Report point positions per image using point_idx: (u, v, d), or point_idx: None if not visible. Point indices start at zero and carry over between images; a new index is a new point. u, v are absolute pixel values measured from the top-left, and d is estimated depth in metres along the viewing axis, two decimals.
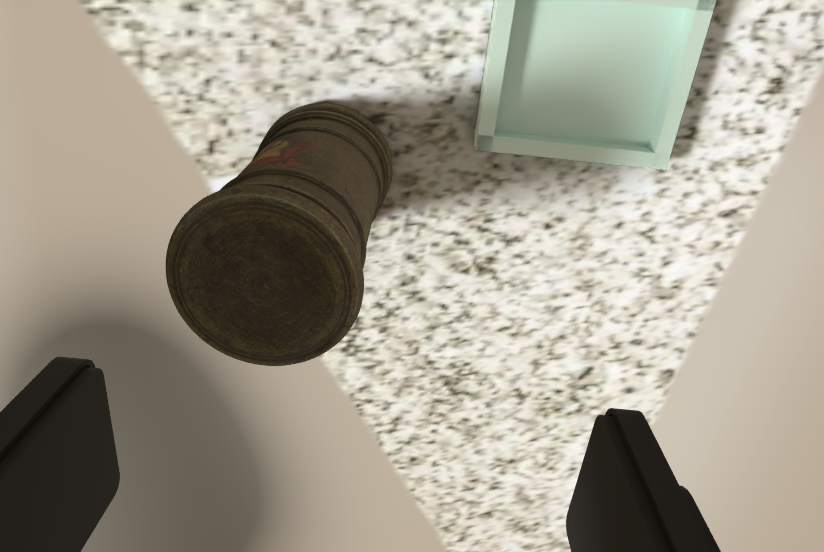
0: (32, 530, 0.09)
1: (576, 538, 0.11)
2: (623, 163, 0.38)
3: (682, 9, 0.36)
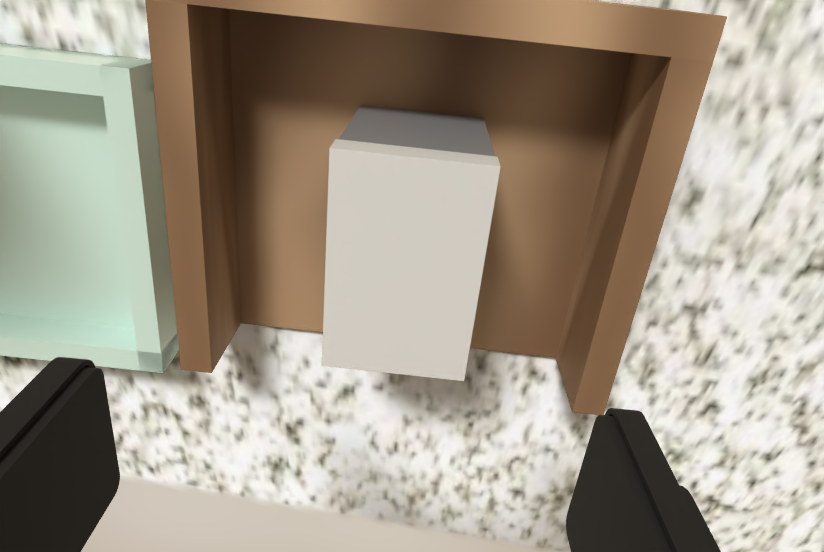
0: (32, 529, 0.09)
1: (576, 538, 0.11)
2: None
3: None
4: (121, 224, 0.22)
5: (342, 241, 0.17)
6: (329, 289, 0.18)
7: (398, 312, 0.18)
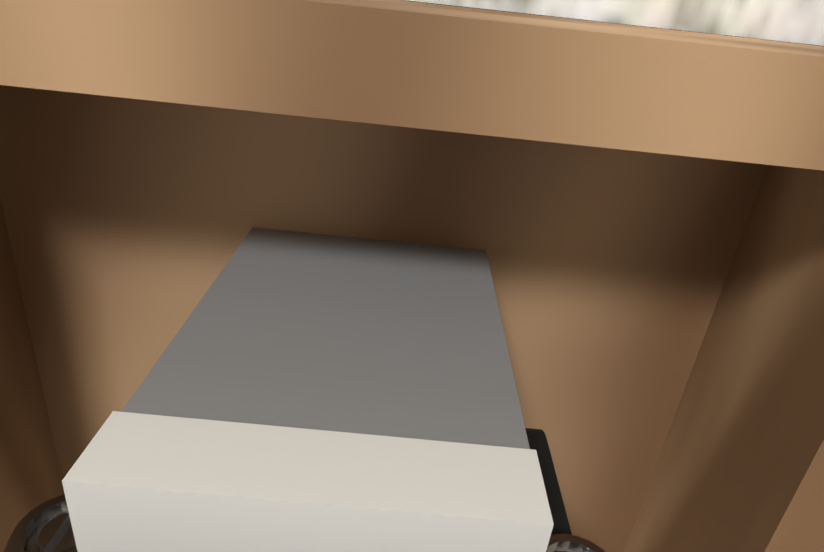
0: None
1: None
2: None
3: None
4: None
5: None
6: None
7: None
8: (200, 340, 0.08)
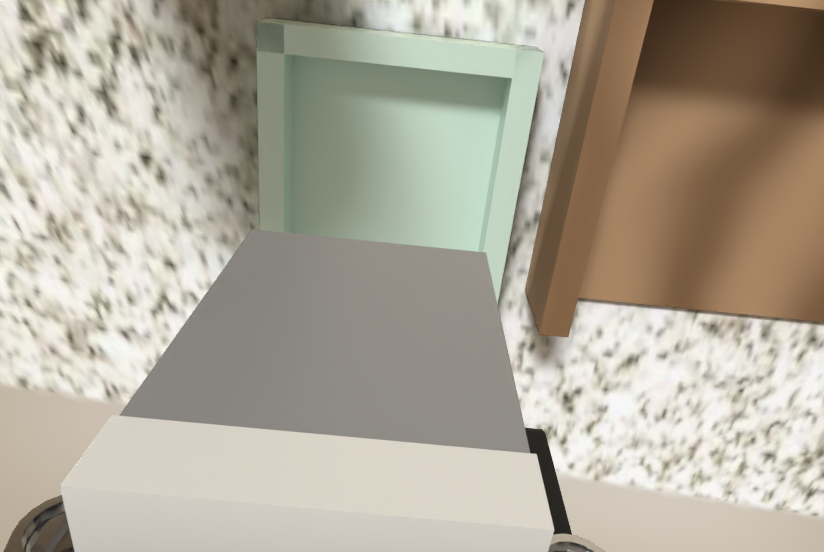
0: None
1: None
2: None
3: None
4: (492, 199, 0.24)
5: None
6: None
7: None
8: (199, 343, 0.08)
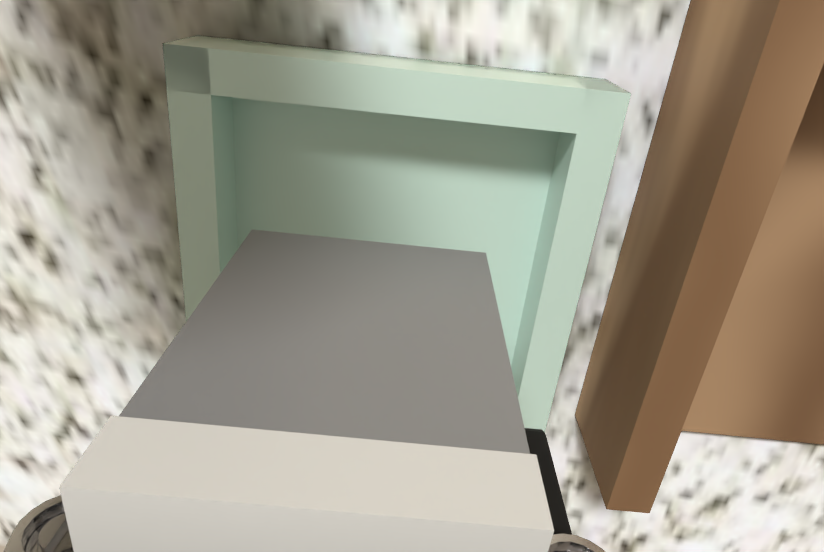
0: None
1: None
2: None
3: None
4: (538, 310, 0.16)
5: None
6: None
7: None
8: (199, 343, 0.08)
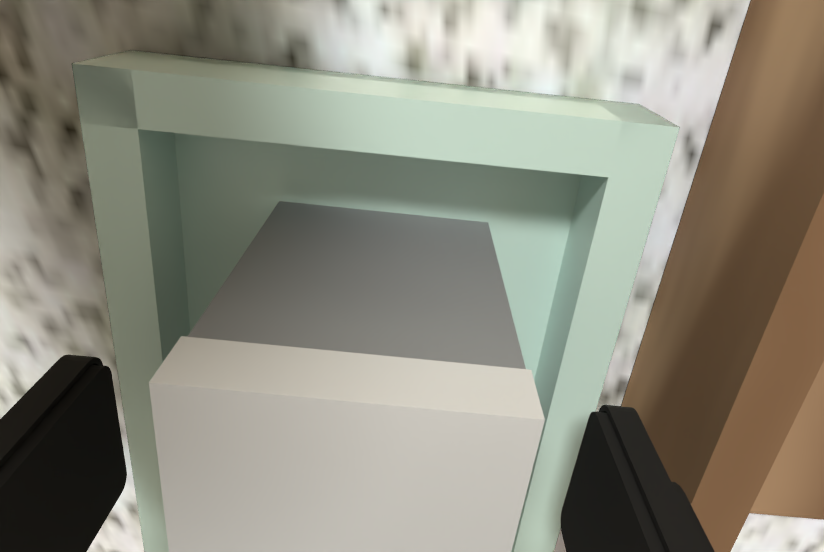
0: (42, 526, 0.09)
1: (570, 534, 0.11)
2: (139, 483, 0.14)
3: None
4: (556, 387, 0.13)
5: (202, 547, 0.08)
6: None
7: None
8: (245, 287, 0.09)
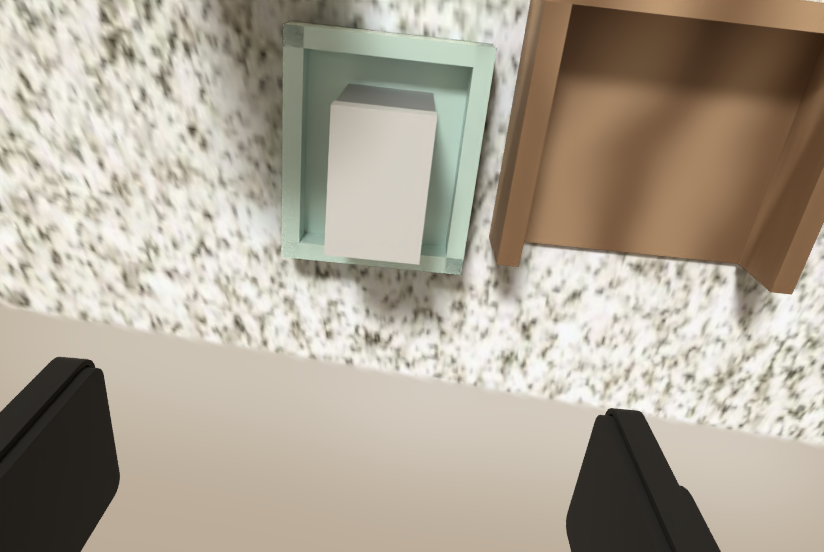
0: (32, 530, 0.09)
1: (576, 538, 0.11)
2: (284, 211, 0.33)
3: (444, 244, 0.35)
4: (460, 160, 0.31)
5: (338, 166, 0.27)
6: (329, 200, 0.27)
7: (374, 215, 0.28)
8: (346, 96, 0.28)
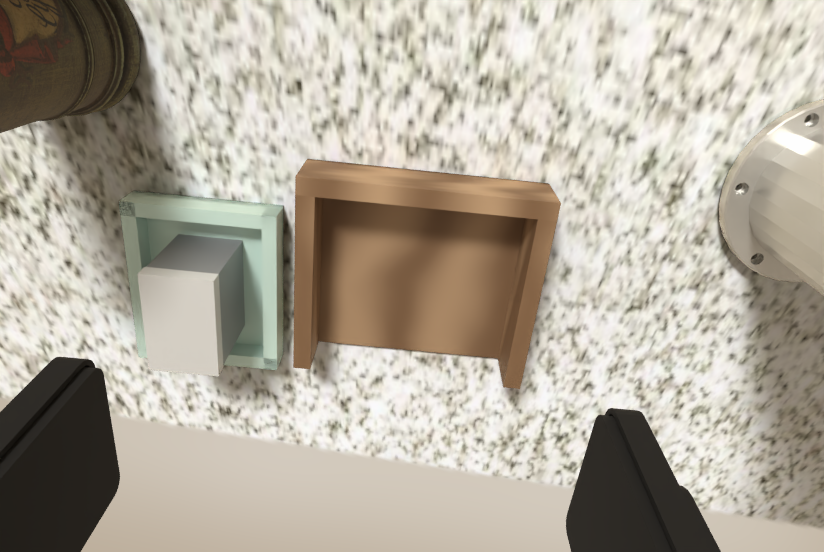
0: (32, 530, 0.09)
1: (576, 538, 0.11)
2: (136, 325, 0.43)
3: None
4: (263, 290, 0.42)
5: (149, 312, 0.37)
6: (146, 333, 0.38)
7: (180, 344, 0.38)
8: (161, 257, 0.38)
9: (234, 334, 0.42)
